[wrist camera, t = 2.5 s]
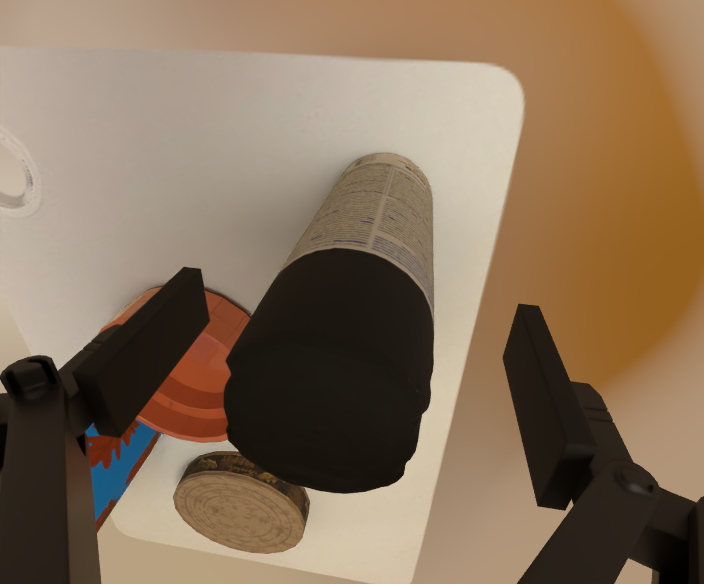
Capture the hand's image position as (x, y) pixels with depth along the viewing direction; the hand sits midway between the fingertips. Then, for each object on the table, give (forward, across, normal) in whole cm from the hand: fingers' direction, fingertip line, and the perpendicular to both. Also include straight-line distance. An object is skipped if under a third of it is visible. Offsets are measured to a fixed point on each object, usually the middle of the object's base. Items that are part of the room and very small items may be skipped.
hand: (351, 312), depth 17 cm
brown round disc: (+14, -14, -39) cm, 43 cm away
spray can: (+14, 0, 0) cm, 14 cm away
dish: (+14, -16, -16) cm, 26 cm away
